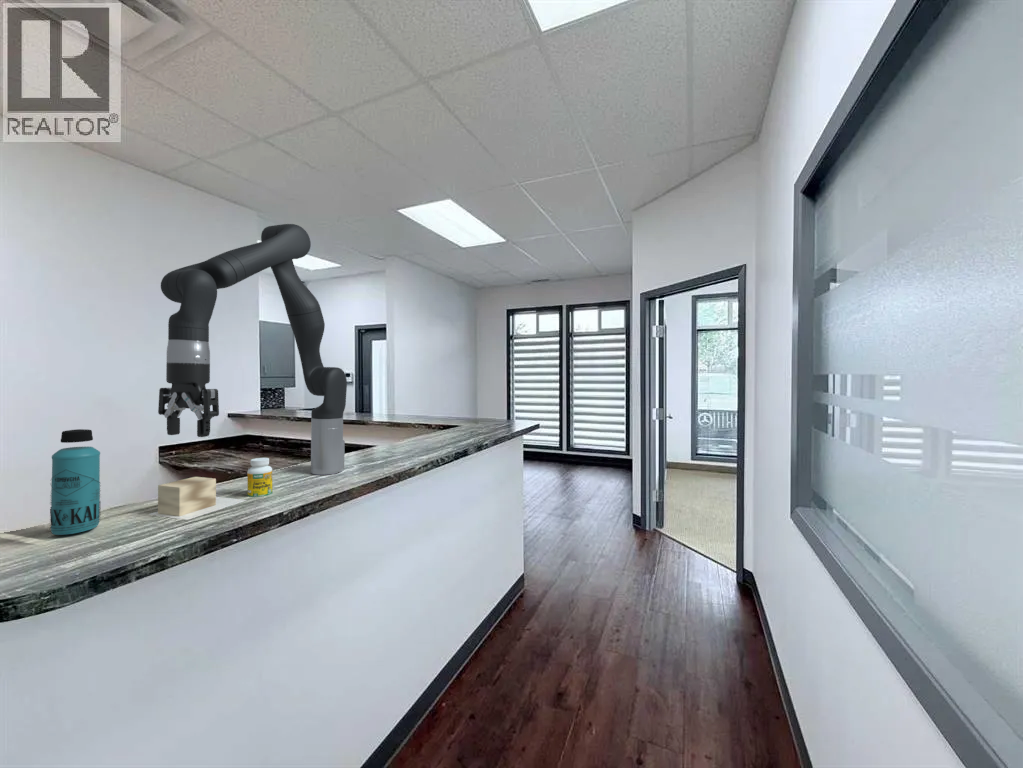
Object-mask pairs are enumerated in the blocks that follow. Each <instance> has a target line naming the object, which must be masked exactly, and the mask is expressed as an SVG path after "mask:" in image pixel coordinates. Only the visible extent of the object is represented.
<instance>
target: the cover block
mask: <svg viewBox="0 0 1023 768" xmlns="http://www.w3.org/2000/svg"><path fill="white" fill-rule="evenodd" d="M216 497H217V479H216V478H212V477H204V476H202V477H201V476H192V477H189V478H184V479H179V480H175V481H172V482H171V481H170V482H167V483H166V482H165V483H162V484H158V485H157V511H158V513H160V514H167V515H174V516H182V515H185V514H188V513H191V512H195V511H198V510H201V509H204V508H207V507H211V506H214V505H216Z"/></svg>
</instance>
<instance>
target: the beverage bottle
mask: <svg viewBox="0 0 1023 768" xmlns="http://www.w3.org/2000/svg"><path fill="white" fill-rule="evenodd" d="M93 440H94V438H93V431H92V429H83V428H81V429H69V430H63V431H62V432H61V438H60V443H64V444H65V443H66V444H69V443H83V442H85V443H86V442H90V441H93ZM100 461H101V451H100V450H98V449H97V448H95V447H93V446H72V447H71V446H70V447H64V448H60V449H59V450H57V451H56V452H54V453H53V454H52V455H51V479H50V480H51V482H50V483H49V484H50V487H51V490H50V495H49V499H50V503H49V505H50V508H49V517H50V521H49V524H50V525H49V529H50V531H51V534H52V535H57V536H59V535H60V536H62V535H73V534H78V533H81V532H86V531H90V530H92V529H96V527H98V526H99V523H100V521H101V515H100V513H101V503H102V502H101V499H100V498H101V495H102V494H101V491H102V490H101V481H100V477H101V468H100V467H101V466H100V465H101V464H100V463H101V462H100Z"/></svg>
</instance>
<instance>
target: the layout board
mask: <svg viewBox="0 0 1023 768" xmlns="http://www.w3.org/2000/svg"><path fill="white" fill-rule="evenodd" d="M247 501H248V499H247V500H246V499H240V498H232V497H231V498H230V497H221V496H216V505H214V506H211V507H207V508H204V509H201V510H198V511H195V512H191V513H188V514H185V515H182V516H174V515H167V514H160V513H158V510H157V511H154V512H151V513H148V515H149V516H157V517H163V518H164V517H165V518H171V519H180V520H186V521H188V520H191V519H194V518H198V517H201V516H204V515H207V514H210V513H213V512H217V511H219V510H222V509H224V508H227V507H231V506H235V505H237V504H240V503H243V502H247Z"/></svg>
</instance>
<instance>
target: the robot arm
mask: <svg viewBox="0 0 1023 768" xmlns="http://www.w3.org/2000/svg"><path fill="white" fill-rule="evenodd" d="M260 235H261V237H260V240H261V241H260V242H256V243H252V244H249V245H244V246H241V247H236V248H233V249H230V250H228V251H224V252H222V253H220V254H217V255H214V256H213V257H210V258H208V259H206V260H204V261H201V262H198V263H197V262H196V263H194V264H190V265H188V266H184V267H180V268H176V269H174V270H172V271H169V272H168V273H166V274H165V275H164V276H163V277H162V279H161V282H160V290H161V292H162V294H163V296H165V298H166V299H168V300H169V301H171V302H174V303H178V304H180V307H179V309H178V311H176V312H175V313H172V314H171V315H169V318H168V322H167V323H168V324H167V325H168V326H167V327H168V331H167V333H168V337H167V338H168V340H167V345H166V346H167V347H166V365H165V366H166V375H165V377H166V379H165V381H166V383H167V384H171V387H160V388H159V390H158V391H159V392H158V393H159V394H158V409H157V411H158V412H157V413H158V415H159V416H160V415H161V416H164V418H166V431H167V433H166V434H167V435H168V436H176V435H179V434H180V433H181V417H180V416H181V414H182V413H183V412H184V410H186V409H189V410H190V411H191V412H193V413H194V415H195V416H196V418H197V420H196V421H197V422H196V428H197V429H196V436H197V437H198V438H199V437H200V438H205V437H209V436H210V433H211V419H213V418H214V417H218V416H220V407H219V405H220V403H219V390H218V389H217V388H206V385H207V384H209V383H210V381H211V349H210V344H209V343H210V340H209V339H210V325H209V324H210V321H211V319H212V316H213V313H214V310H215V306H216V303H217V299H218V290H220V289H227V288H230V287H232V286H234V285H236V284H238V283H240V282H242V281H244V280H246V279H248V278H249V277H252V276H254V275H257V274H259V273H261V272H262V271H264V270H266V269H269V268H271V271H272V273H273V275H274V277H275V278H274V279H275V281H276V283H277V286H278V289H279V292H280V295H281V298H282V301H283V303H284V309H285V311H286V315H287V319H288V321H289V324H290V328H291V331H292V333H293V336H294V341H295V343H296V344H295V345H296V348H297V351H298V355H299V359H300V362H301V363H300V364H301V368H302V374H303V379H304V383H305V387H306V388H307V390H308V391H309V393H310V394H311V395H313V396H317V397H323V400H322V403H321V404H320V405H319V406H316V407H314V408H313V409H311V415H310V416H311V417H310V418H311V421H310V422H311V424H310V425H311V428H310V433H311V434H310V439H311V440H310V473H311V474H312V475H320V476H321V475H322V476H324V475H325V476H326V475H333V474H339V473H341V472H343V470H345V448H346V447H345V446H346V445H345V439H344V412H345V409H346V404H347V403H346V402H347V401H346V400H347V388H348V381H347V379H348V378H347V375H346V373H345V371H344V370H343V369H342V368H340V367H335V366H334V367H333V366H324V363H323V362H322V356H321V352H320V350H321V349H320V348H321V343H322V339H323V336H324V333H325V327H326V326H325V320H324V315H323V312H322V309H321V306H320V302H319V301H318V299H317V298H316V297H315V295H314V294H313V293H312V291H311V290H309V288H308V287H307V286H306V284H304V282H303V281H302V280H301V278H300V276H299V275H298V272H297V270H296V267H295V264H294V260H298V259H302V258H303V257H305V256H307V255H308V254H309V252H310V250H311V239H310V235H309V234H308V232H307V230H306V229H304V227H302V226H300V225H298V224H294V223H284V224H274V225H269V226H266V227H264V228H263V230H262V231H261V234H260ZM166 404H167V405H166ZM165 406H166V407H165ZM211 406H212V410H211ZM338 472H339V473H338Z"/></svg>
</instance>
